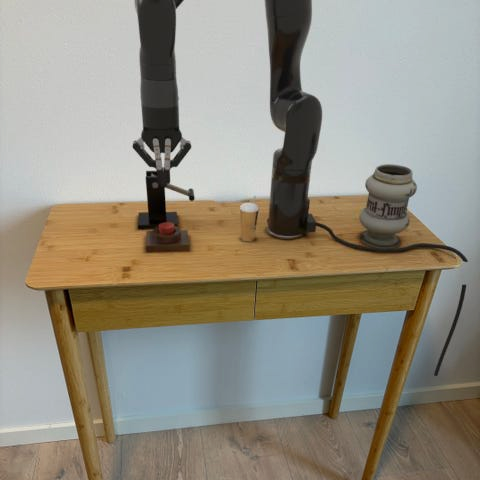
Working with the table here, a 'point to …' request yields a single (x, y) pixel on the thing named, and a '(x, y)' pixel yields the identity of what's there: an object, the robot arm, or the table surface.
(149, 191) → the switch bracket
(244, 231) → the milkshake
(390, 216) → the apothecary jar
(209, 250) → the table surface
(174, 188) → the switch lever
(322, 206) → the table surface
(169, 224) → the button
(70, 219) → the table surface
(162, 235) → the button block
